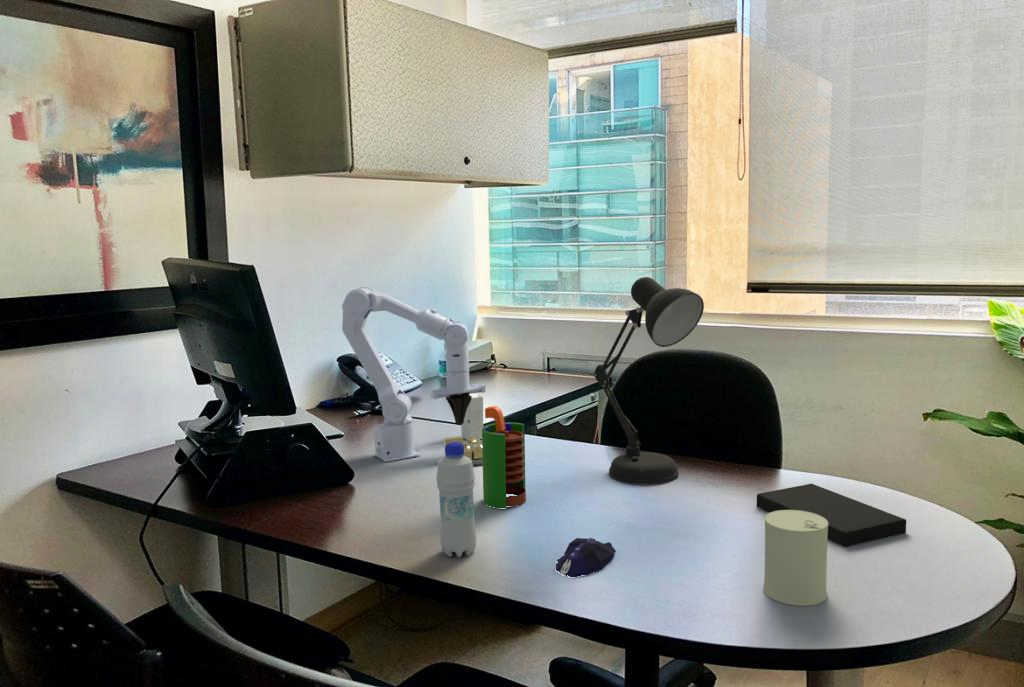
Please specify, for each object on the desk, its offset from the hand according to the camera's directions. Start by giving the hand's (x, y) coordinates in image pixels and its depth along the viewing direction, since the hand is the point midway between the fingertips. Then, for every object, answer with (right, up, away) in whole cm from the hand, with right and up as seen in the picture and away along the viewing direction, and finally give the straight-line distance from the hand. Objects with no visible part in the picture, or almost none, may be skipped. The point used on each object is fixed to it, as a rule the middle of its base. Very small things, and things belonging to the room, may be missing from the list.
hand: (459, 423), depth 204 cm
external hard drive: (+73, -14, -52) cm, 91 cm away
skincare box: (+3, -6, +16) cm, 17 cm away
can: (+57, -18, -82) cm, 101 cm away
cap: (+4, -8, -4) cm, 10 cm away
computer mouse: (+25, -17, -67) cm, 74 cm away
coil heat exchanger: (+12, -13, -36) cm, 40 cm away
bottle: (+4, -17, -62) cm, 64 cm away
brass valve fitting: (+4, -7, -4) cm, 9 cm away
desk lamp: (+44, -10, -21) cm, 50 cm away
